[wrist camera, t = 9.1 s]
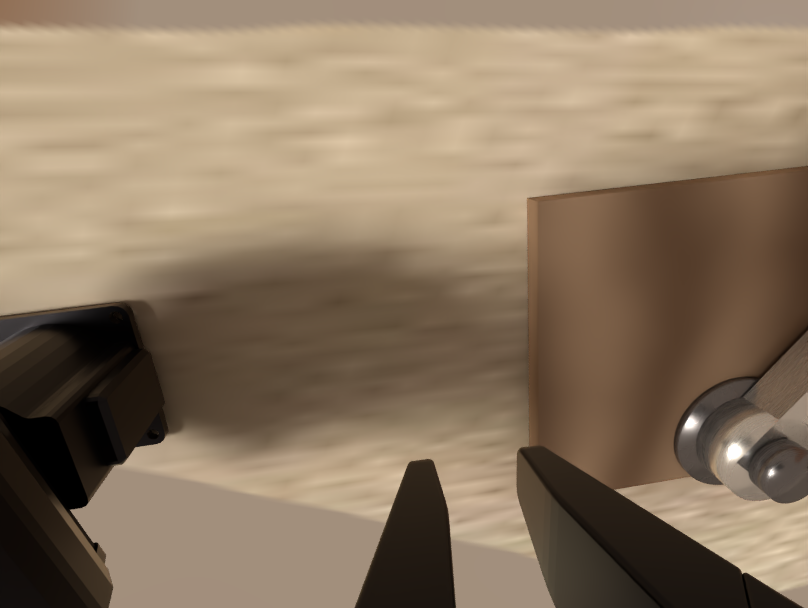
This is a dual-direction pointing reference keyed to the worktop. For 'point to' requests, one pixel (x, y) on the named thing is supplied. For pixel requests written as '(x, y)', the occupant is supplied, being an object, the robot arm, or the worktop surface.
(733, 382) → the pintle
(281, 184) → the worktop surface
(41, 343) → the robot arm
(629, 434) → the walnut board
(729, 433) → the lever link
